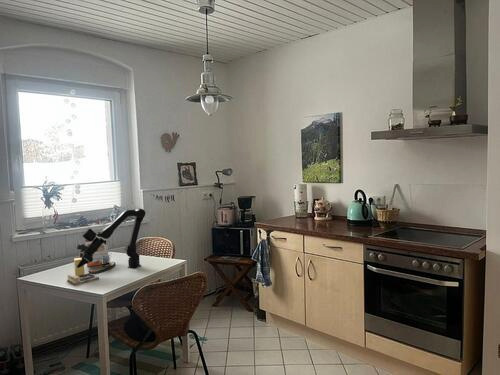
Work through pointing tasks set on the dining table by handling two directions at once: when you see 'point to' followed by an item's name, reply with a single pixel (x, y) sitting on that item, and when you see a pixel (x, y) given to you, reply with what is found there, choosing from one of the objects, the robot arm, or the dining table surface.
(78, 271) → the pillar
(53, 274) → the dining table surface
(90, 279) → the flat tray
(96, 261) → the cracker box
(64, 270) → the dining table surface
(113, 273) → the dining table surface
